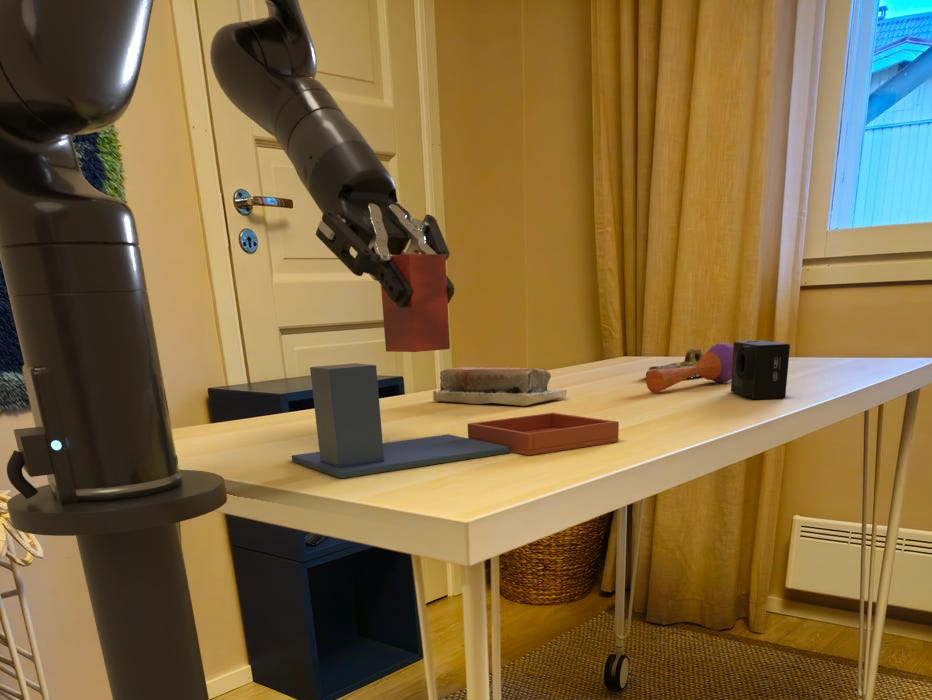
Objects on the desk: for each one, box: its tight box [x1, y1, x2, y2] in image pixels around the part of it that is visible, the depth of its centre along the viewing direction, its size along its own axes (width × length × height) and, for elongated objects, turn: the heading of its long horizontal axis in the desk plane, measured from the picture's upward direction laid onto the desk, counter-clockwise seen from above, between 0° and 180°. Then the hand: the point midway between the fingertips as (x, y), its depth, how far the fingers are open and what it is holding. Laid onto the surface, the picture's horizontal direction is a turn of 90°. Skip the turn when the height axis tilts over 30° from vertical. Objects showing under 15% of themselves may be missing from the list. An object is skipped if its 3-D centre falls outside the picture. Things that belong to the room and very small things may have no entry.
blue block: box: [309, 362, 384, 468], centre depth 78 cm, size 4×4×8 cm
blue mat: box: [291, 433, 511, 479], centre depth 84 cm, size 18×12×1 cm, turn 122°
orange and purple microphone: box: [645, 342, 734, 394], centre depth 132 cm, size 6×6×20 cm
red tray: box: [467, 412, 620, 456], centre depth 88 cm, size 11×11×2 cm
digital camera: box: [730, 340, 791, 400], centre depth 117 cm, size 10×5×7 cm, turn 2°
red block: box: [380, 253, 451, 353], centre depth 82 cm, size 4×4×8 cm
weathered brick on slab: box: [432, 366, 567, 407], centre depth 125 cm, size 18×5×10 cm
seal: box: [645, 348, 704, 379], centre depth 148 cm, size 9×5×15 cm
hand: (427, 299), depth 81 cm, fingers closed on red block, 4 cm apart
